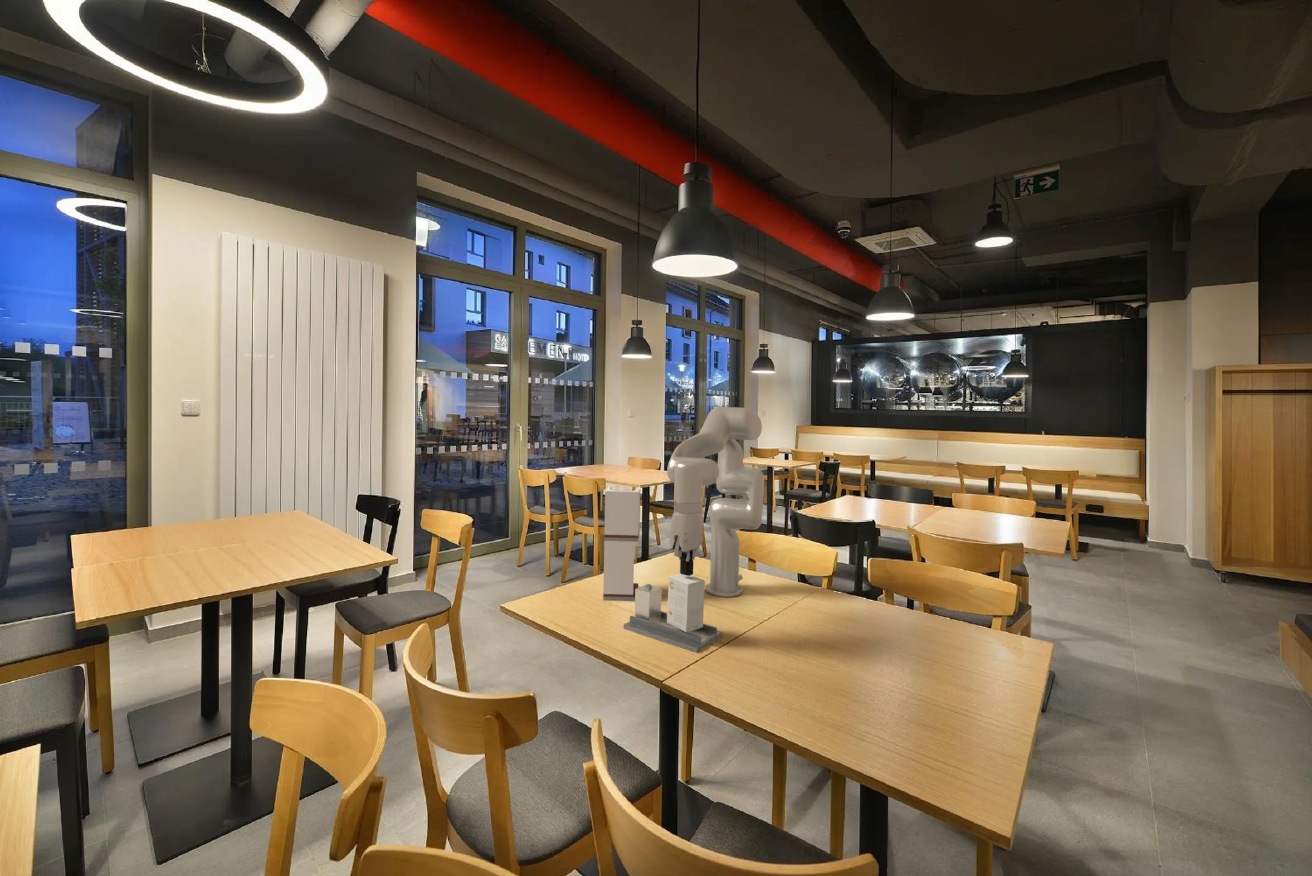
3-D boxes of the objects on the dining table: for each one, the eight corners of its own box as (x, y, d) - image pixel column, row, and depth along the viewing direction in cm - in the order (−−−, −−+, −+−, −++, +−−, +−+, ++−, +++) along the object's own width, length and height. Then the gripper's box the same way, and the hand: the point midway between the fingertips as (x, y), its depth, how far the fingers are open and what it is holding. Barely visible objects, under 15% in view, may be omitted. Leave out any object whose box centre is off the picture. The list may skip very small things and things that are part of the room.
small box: (703, 627, 151) (705, 580, 150) (686, 633, 147) (688, 584, 146) (683, 618, 157) (685, 572, 156) (665, 622, 153) (667, 576, 152)
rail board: (651, 615, 167) (652, 577, 166) (721, 636, 152) (723, 594, 152) (623, 628, 156) (624, 588, 155) (696, 652, 142) (697, 608, 141)
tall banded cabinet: (636, 601, 178) (638, 492, 176) (603, 600, 178) (605, 491, 176) (638, 589, 189) (640, 486, 187) (606, 588, 190) (608, 485, 187)
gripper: (691, 501, 158) (689, 565, 160) (660, 509, 146) (659, 578, 148) (714, 505, 154) (712, 570, 155) (684, 513, 142) (682, 584, 143)
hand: (686, 574), depth 151 cm, fingers closed
